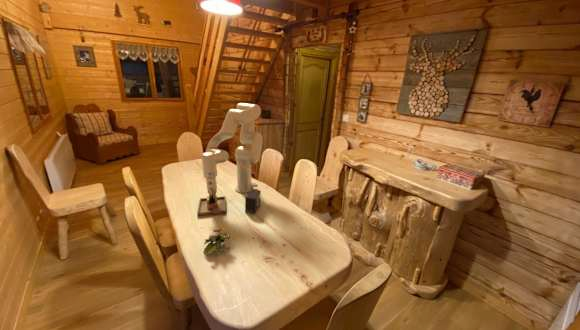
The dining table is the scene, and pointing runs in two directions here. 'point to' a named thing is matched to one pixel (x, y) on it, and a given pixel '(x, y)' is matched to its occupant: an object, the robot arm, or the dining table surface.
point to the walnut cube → (212, 204)
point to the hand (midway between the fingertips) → (212, 199)
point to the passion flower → (217, 239)
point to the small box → (252, 201)
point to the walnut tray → (211, 211)
